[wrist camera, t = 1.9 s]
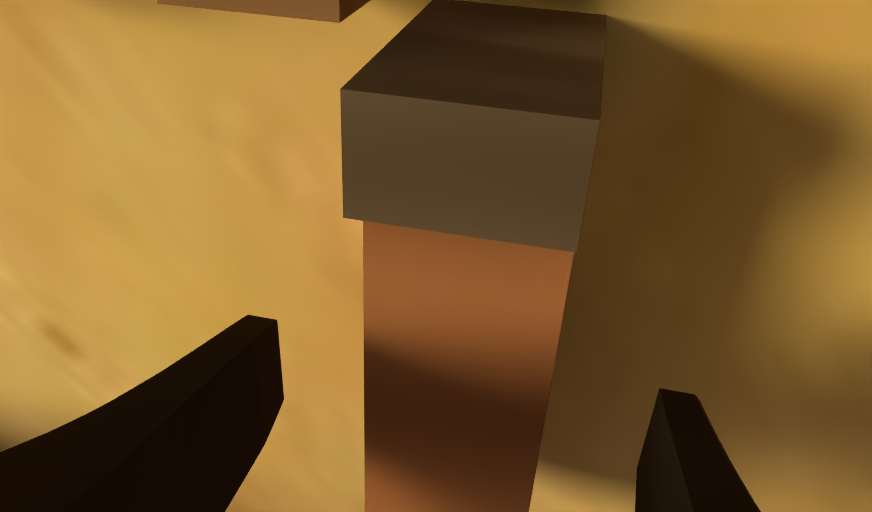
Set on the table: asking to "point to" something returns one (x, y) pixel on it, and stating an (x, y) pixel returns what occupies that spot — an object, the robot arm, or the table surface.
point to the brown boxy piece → (467, 242)
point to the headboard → (281, 7)
